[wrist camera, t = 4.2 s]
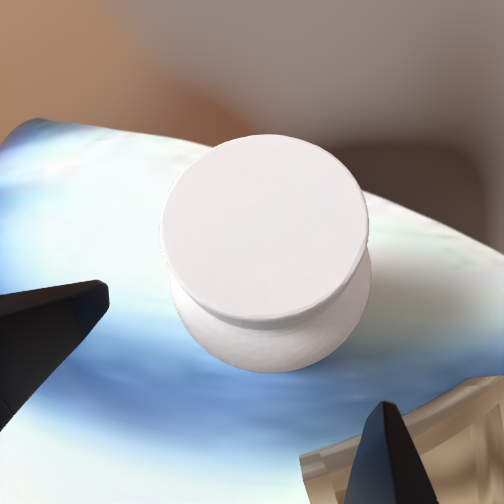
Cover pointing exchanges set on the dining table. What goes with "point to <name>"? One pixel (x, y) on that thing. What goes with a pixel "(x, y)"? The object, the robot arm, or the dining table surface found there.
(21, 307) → the robot arm
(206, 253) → the supplement bottle
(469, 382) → the birch box
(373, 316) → the dining table surface
